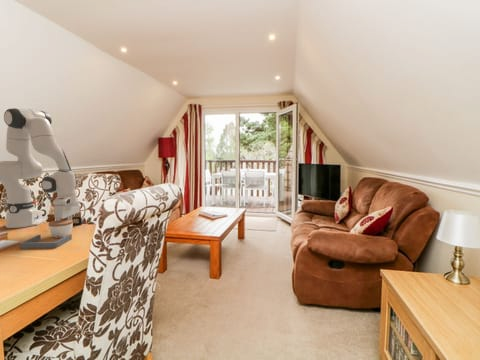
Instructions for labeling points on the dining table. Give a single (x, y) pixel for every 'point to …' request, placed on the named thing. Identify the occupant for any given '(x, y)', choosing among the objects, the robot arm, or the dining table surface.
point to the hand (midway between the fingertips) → (68, 223)
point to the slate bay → (34, 244)
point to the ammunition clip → (77, 218)
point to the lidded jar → (60, 227)
